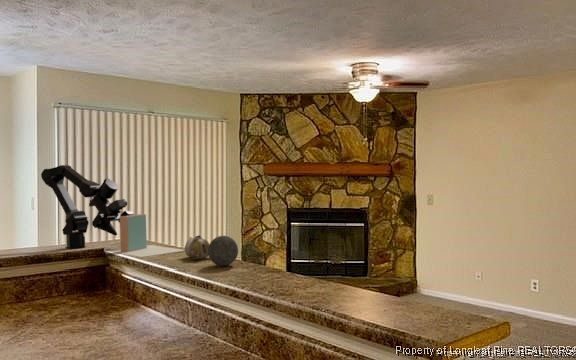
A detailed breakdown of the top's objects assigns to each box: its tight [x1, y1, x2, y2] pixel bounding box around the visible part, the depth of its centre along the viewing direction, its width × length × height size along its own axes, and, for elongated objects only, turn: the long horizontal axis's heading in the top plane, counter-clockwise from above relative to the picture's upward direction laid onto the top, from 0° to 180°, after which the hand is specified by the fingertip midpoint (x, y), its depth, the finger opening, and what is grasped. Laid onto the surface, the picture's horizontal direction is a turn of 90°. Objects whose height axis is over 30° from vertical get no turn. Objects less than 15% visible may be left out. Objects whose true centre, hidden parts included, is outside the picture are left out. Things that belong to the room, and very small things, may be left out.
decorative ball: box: [208, 235, 239, 267], centre depth 172 cm, size 10×10×10 cm
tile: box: [119, 213, 148, 252], centre depth 210 cm, size 4×11×14 cm, turn 154°
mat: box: [109, 244, 185, 258], centre depth 208 cm, size 20×26×1 cm
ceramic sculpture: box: [183, 235, 210, 260], centre depth 189 cm, size 11×9×15 cm
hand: (124, 233), depth 213 cm, fingers open, 9 cm apart
